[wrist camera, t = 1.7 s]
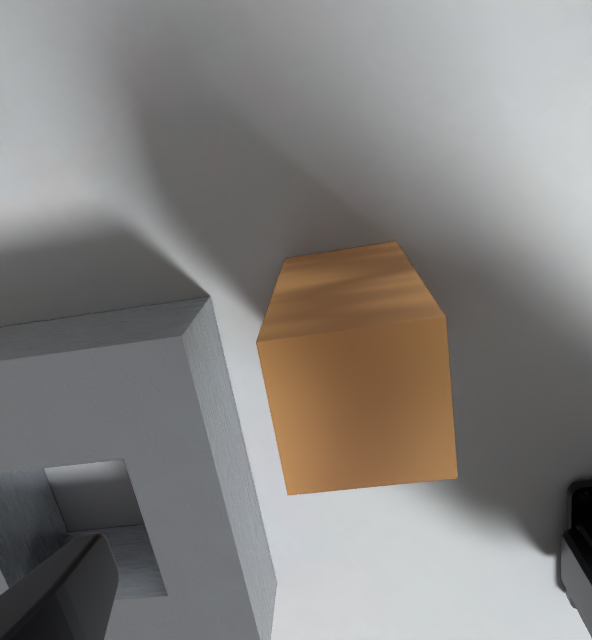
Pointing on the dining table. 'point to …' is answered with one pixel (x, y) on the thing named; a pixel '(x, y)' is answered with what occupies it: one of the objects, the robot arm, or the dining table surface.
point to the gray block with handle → (138, 466)
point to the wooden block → (357, 372)
